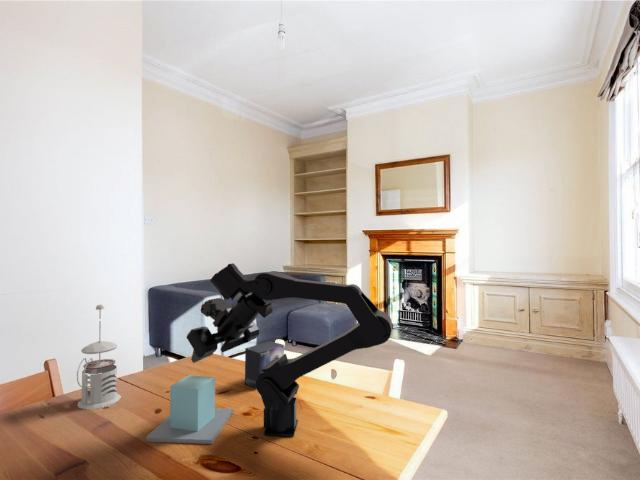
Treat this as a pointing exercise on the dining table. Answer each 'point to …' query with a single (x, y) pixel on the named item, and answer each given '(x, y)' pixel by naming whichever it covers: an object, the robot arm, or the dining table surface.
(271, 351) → the small box
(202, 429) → the post board
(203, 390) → the pale blue cube block
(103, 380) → the french press
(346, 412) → the dining table surface
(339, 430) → the dining table surface
